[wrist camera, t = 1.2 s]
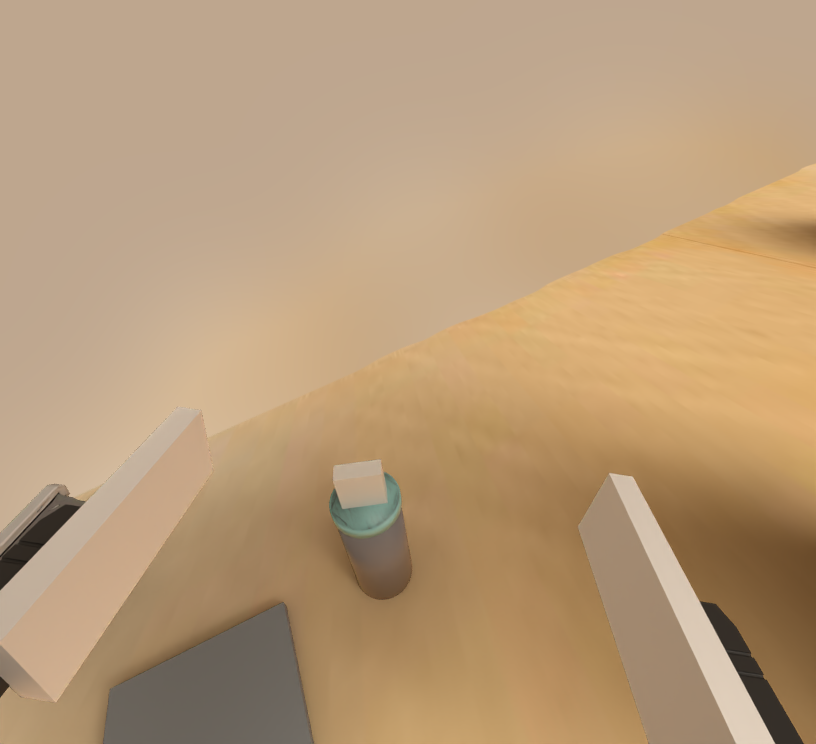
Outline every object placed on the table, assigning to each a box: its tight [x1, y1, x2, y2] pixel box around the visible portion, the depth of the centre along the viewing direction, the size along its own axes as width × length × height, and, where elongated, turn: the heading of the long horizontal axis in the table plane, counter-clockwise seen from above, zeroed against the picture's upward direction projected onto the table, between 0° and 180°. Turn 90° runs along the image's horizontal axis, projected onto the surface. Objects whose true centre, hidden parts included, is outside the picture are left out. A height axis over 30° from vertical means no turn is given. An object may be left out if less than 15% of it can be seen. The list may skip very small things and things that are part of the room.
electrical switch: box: [0, 484, 85, 560], centre depth 31 cm, size 9×5×9 cm, turn 174°
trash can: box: [329, 459, 412, 599], centre depth 28 cm, size 5×5×13 cm
